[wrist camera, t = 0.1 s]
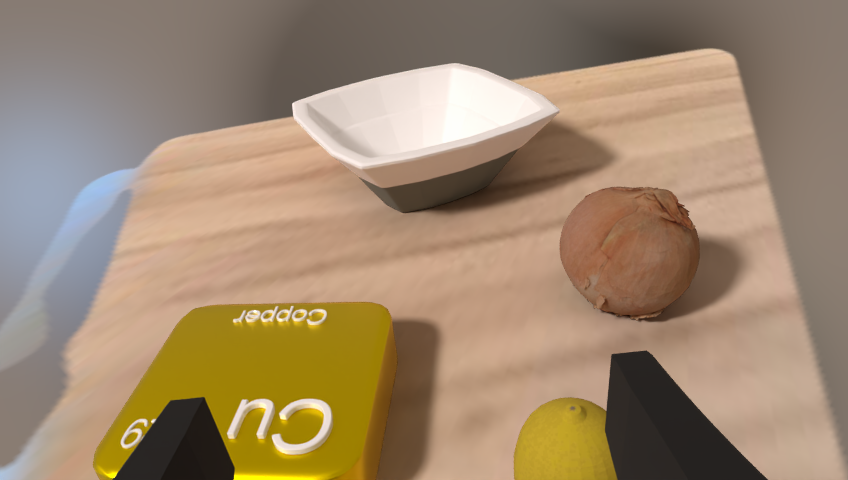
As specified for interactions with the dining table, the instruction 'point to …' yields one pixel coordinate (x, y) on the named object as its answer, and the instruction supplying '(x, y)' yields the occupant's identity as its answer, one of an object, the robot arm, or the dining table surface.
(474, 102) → the bowl
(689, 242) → the onion
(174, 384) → the element tile
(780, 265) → the dining table surface
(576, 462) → the lemon
